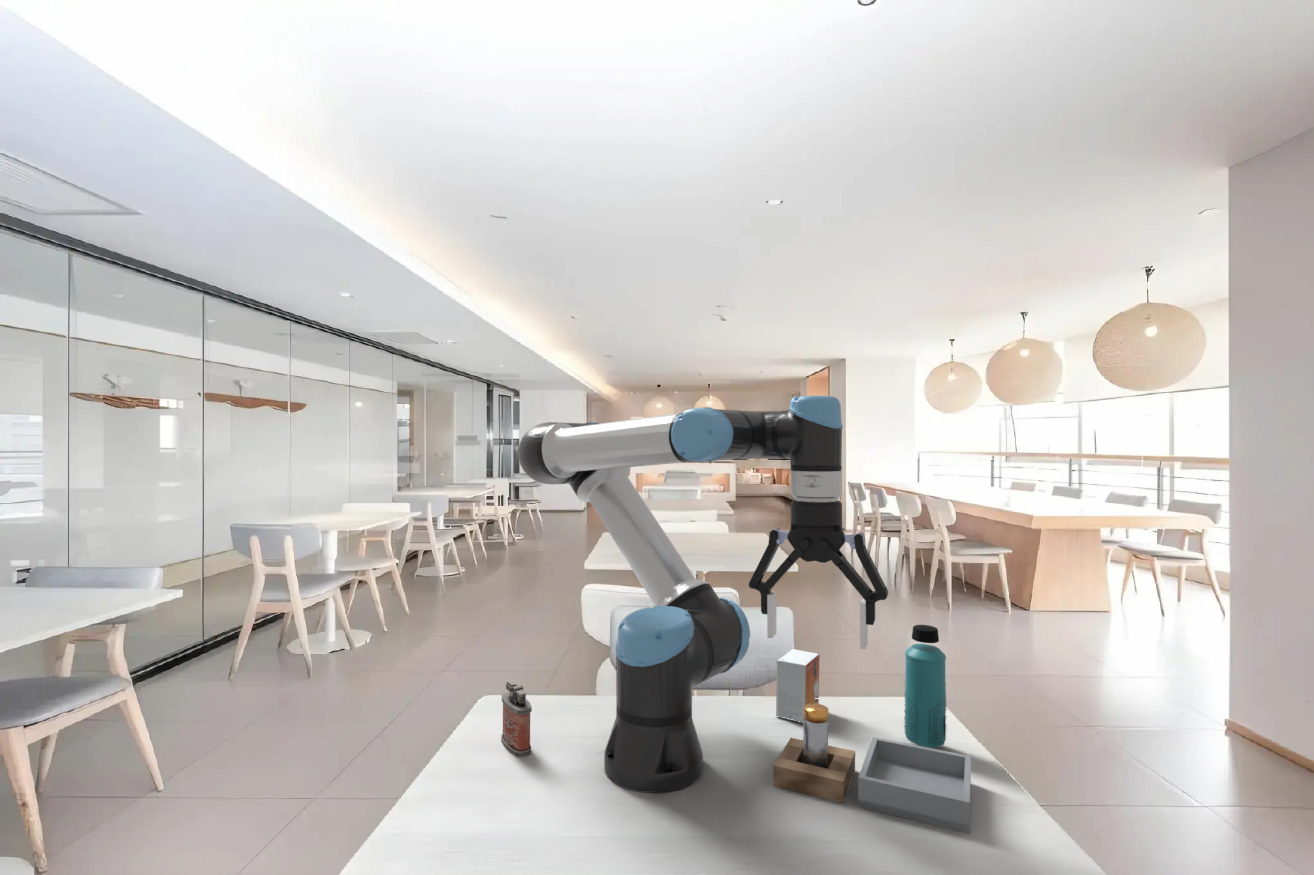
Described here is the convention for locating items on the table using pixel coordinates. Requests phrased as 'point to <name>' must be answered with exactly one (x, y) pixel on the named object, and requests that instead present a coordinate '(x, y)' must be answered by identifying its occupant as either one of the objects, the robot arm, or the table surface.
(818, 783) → the block
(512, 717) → the lighter
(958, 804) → the tray
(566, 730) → the table surface
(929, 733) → the beverage bottle
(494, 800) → the table surface
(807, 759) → the pin
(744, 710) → the table surface
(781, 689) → the small box
